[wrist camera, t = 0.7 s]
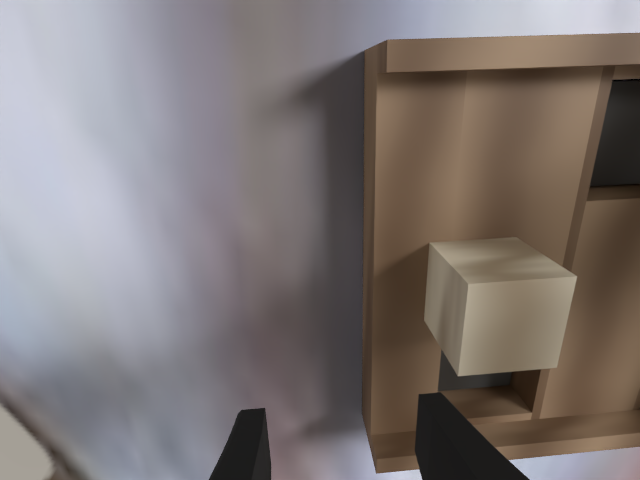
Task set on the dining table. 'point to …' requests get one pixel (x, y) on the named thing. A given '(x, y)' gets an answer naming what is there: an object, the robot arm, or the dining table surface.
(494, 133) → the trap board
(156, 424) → the dining table surface
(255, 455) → the robot arm
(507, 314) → the birch block
